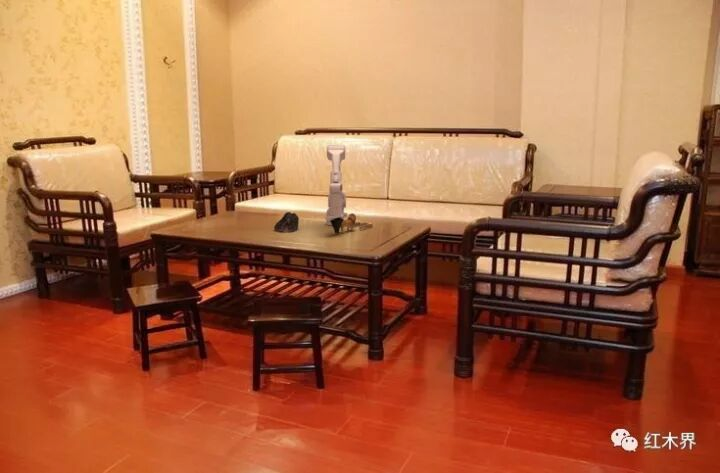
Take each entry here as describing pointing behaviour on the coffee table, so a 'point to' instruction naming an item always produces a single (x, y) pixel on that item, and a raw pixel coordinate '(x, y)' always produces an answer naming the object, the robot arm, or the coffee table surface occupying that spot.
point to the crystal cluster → (287, 223)
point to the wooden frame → (362, 225)
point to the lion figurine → (348, 222)
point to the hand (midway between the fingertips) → (336, 232)
